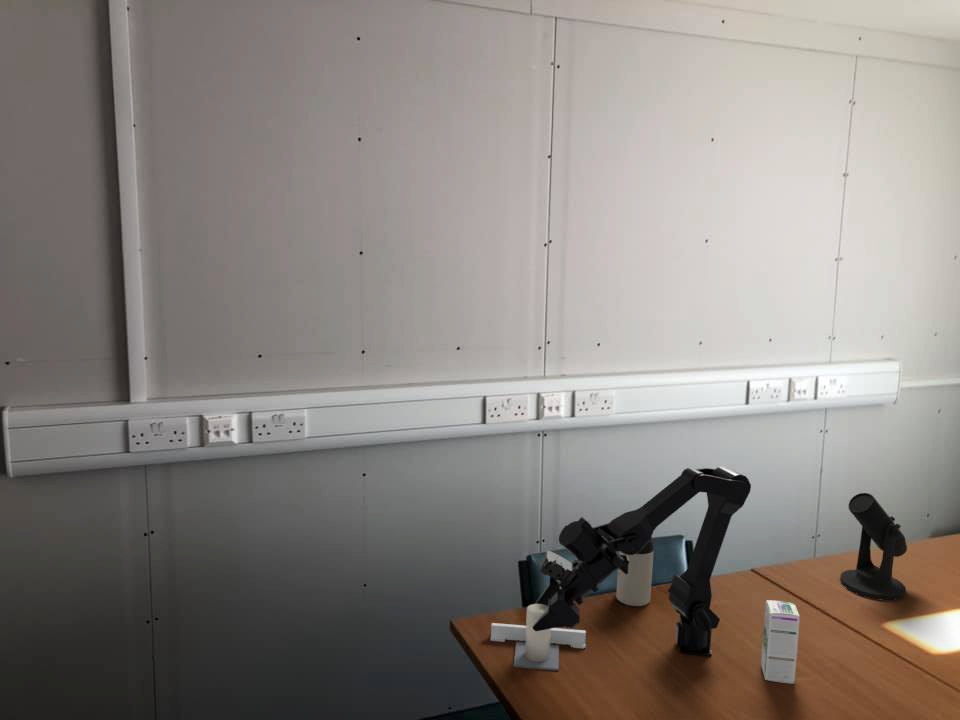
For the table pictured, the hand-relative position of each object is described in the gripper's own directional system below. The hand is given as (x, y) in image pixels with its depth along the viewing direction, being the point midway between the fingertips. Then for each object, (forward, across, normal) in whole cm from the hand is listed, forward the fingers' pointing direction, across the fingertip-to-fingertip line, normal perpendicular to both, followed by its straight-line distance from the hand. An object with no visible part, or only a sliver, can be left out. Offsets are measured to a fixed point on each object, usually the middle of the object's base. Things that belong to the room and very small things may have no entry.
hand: (534, 617), depth 157 cm
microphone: (-53, -46, +66) cm, 96 cm away
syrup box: (-28, -1, +41) cm, 50 cm away
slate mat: (+6, 0, +6) cm, 9 cm away
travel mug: (-10, -29, +22) cm, 38 cm away
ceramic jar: (+5, 0, +6) cm, 8 cm away
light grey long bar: (+6, -6, +6) cm, 11 cm away
